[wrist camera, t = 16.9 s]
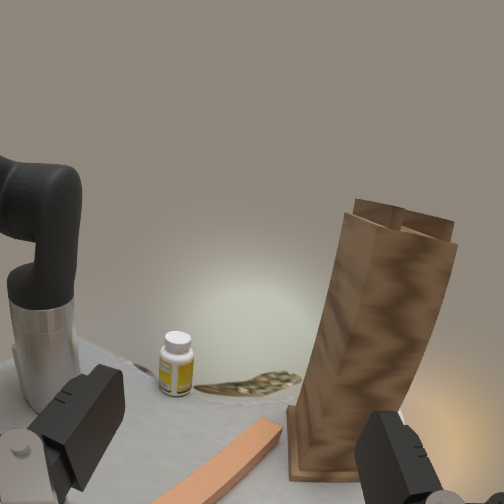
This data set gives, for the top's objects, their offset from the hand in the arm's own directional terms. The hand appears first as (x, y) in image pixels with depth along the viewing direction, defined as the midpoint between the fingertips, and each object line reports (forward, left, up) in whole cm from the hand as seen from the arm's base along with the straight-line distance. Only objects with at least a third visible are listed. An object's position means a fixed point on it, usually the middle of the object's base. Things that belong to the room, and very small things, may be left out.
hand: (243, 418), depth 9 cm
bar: (0, +17, -27) cm, 32 cm away
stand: (+14, +25, -27) cm, 39 cm away
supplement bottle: (-10, +34, -27) cm, 45 cm away
